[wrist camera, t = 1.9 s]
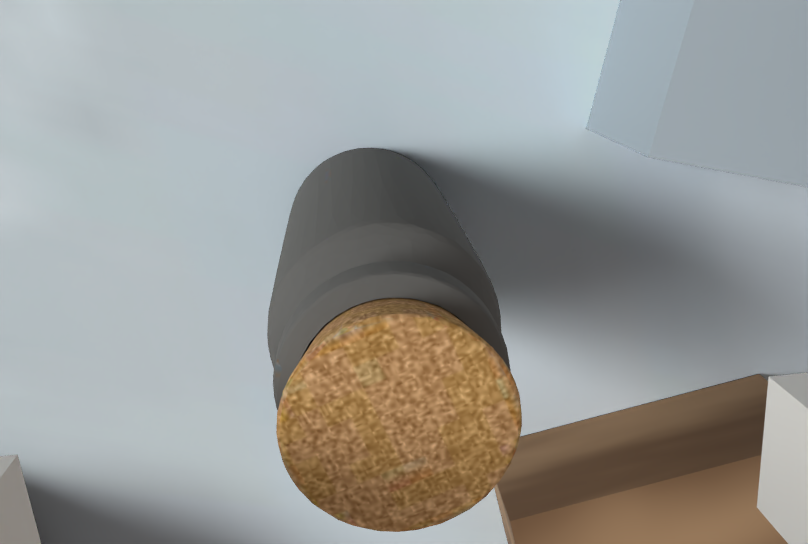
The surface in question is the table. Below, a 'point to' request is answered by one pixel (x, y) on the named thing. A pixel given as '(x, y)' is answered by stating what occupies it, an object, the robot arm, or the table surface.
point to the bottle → (387, 350)
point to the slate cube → (709, 85)
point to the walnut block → (645, 474)
